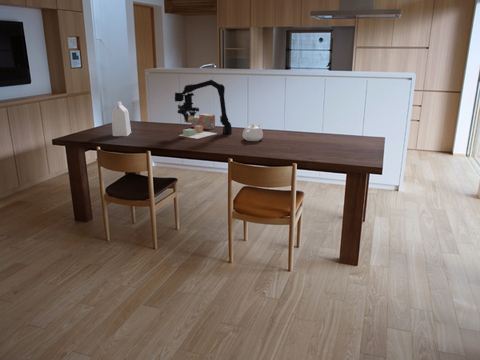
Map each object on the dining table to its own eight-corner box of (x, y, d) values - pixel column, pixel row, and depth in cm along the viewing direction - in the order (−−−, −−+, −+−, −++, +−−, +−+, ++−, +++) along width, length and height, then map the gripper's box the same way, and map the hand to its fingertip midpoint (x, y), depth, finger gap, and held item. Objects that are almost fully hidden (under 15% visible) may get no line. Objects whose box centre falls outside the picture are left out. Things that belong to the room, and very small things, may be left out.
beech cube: (193, 122, 326) (193, 115, 325) (188, 122, 323) (188, 116, 321) (188, 121, 329) (188, 115, 328) (184, 122, 326) (184, 115, 324)
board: (217, 134, 333) (217, 133, 333) (197, 139, 315) (197, 138, 315) (199, 131, 345) (199, 130, 345) (178, 136, 327) (178, 135, 327)
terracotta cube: (203, 132, 339) (202, 125, 338) (198, 133, 335) (198, 126, 334) (198, 131, 342) (198, 125, 341) (194, 132, 338) (194, 126, 337)
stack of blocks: (191, 127, 361) (190, 113, 357) (195, 126, 366) (195, 112, 362) (211, 130, 350) (210, 115, 346) (215, 129, 355) (215, 114, 351)
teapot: (255, 144, 301) (255, 127, 297) (236, 141, 308) (236, 125, 304) (268, 137, 322) (269, 121, 318) (250, 135, 329) (251, 120, 325)
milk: (127, 136, 328) (124, 102, 320) (112, 136, 328) (109, 102, 320) (131, 132, 339) (128, 100, 331) (117, 132, 340) (114, 100, 331)
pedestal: (195, 134, 330) (195, 129, 328) (189, 136, 324) (189, 130, 323) (189, 133, 334) (189, 128, 333) (183, 134, 329) (182, 129, 327)
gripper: (189, 99, 333) (189, 118, 337) (172, 101, 319) (173, 121, 323) (199, 100, 326) (199, 120, 331) (182, 103, 312) (183, 123, 317)
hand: (188, 121), depth 326 cm, fingers closed on beech cube, 5 cm apart
